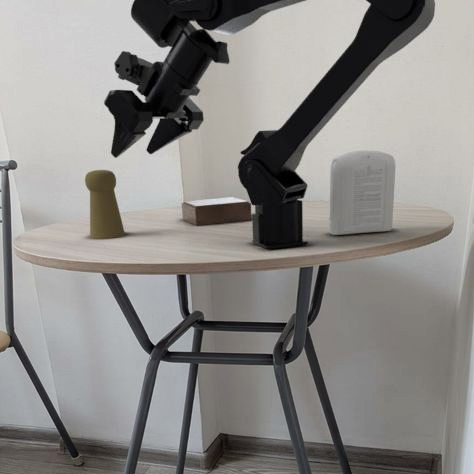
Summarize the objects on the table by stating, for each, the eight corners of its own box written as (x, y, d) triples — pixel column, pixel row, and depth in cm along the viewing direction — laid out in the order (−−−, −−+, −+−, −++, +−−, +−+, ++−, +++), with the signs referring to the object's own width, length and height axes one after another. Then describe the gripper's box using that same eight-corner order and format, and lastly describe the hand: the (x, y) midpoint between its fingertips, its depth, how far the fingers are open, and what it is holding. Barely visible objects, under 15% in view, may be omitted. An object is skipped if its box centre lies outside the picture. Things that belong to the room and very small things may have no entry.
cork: (83, 238, 101) (74, 172, 97) (101, 232, 106) (92, 169, 102) (114, 238, 99) (106, 171, 95) (131, 232, 104) (123, 168, 100)
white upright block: (384, 227, 96) (387, 148, 92) (396, 231, 92) (400, 149, 88) (325, 233, 94) (325, 152, 90) (335, 237, 90) (336, 153, 86)
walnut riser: (234, 214, 120) (233, 196, 119) (251, 220, 111) (250, 201, 110) (182, 219, 117) (181, 201, 116) (196, 225, 108) (194, 206, 107)
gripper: (180, 38, 93) (134, 118, 102) (104, 23, 78) (57, 119, 86) (227, 87, 92) (176, 163, 101) (160, 82, 77) (106, 172, 86)
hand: (131, 153), depth 93 cm, fingers open, 9 cm apart
